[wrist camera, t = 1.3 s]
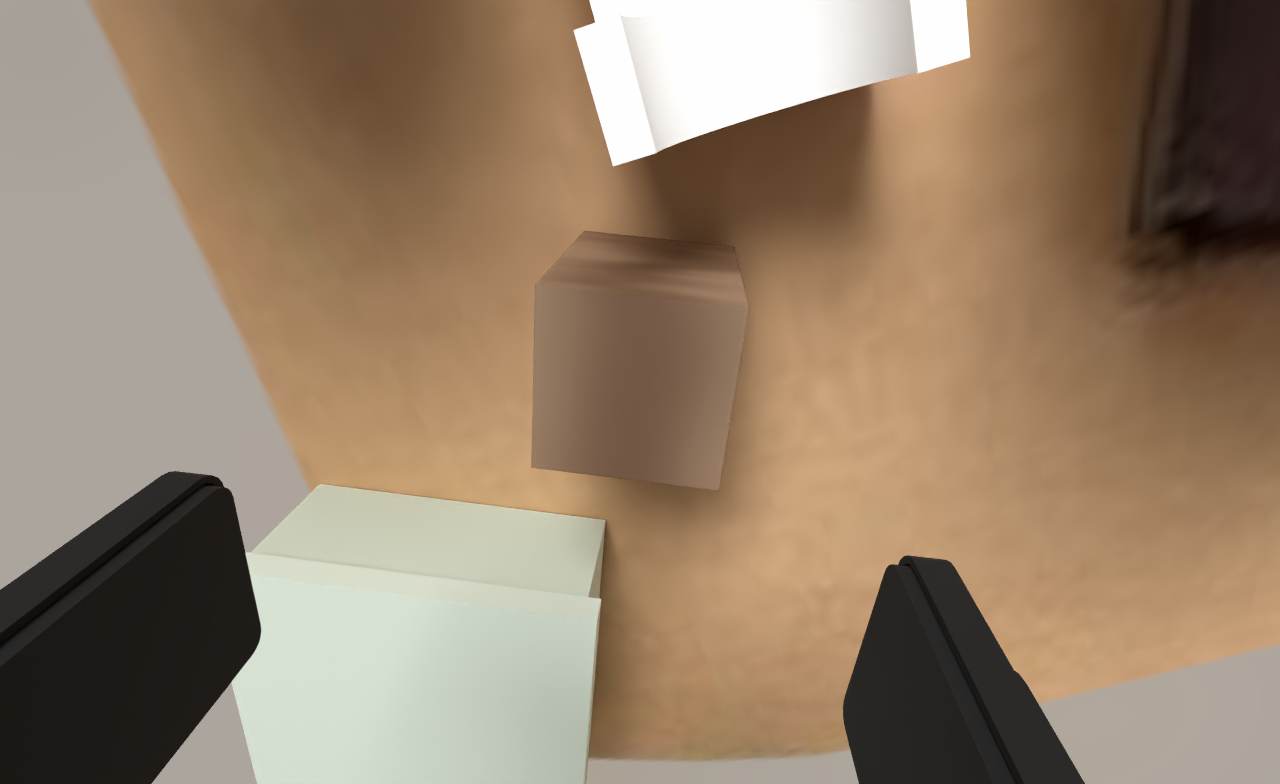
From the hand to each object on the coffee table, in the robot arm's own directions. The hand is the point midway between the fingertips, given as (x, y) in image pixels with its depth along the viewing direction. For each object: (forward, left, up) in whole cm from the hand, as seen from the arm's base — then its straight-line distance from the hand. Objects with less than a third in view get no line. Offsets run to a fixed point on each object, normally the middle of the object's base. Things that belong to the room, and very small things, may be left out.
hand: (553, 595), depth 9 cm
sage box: (+7, +15, -14) cm, 22 cm away
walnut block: (0, 0, -14) cm, 14 cm away
